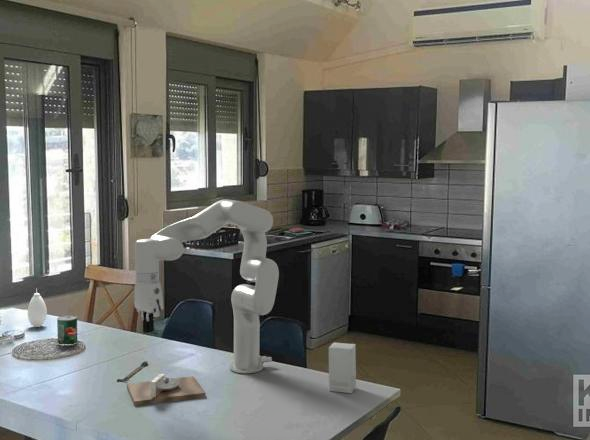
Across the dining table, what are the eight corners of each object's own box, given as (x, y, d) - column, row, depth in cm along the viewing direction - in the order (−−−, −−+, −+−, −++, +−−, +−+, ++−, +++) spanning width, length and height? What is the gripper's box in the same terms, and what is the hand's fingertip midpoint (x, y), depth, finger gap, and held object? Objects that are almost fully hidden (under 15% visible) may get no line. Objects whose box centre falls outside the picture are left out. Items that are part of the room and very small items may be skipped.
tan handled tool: (133, 386, 237) (133, 383, 237) (115, 383, 239) (116, 379, 239) (159, 366, 257) (159, 363, 257) (143, 363, 259) (143, 360, 259)
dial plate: (193, 380, 241) (193, 375, 241) (205, 396, 225) (205, 392, 225) (126, 388, 232) (126, 383, 232) (134, 405, 217) (134, 400, 216)
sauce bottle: (24, 328, 304) (23, 289, 302) (34, 324, 312) (33, 285, 310) (41, 329, 303) (40, 290, 301) (50, 325, 311) (49, 286, 309)
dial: (157, 380, 234) (157, 366, 234) (182, 382, 233) (182, 368, 232) (140, 395, 220) (140, 380, 220) (166, 398, 218) (166, 382, 218)
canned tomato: (74, 346, 279) (73, 320, 278) (54, 346, 279) (54, 319, 278) (80, 341, 287) (79, 315, 286) (61, 340, 287) (61, 315, 286)
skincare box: (356, 387, 235) (357, 343, 234) (351, 394, 229) (352, 349, 228) (332, 384, 238) (333, 341, 236) (327, 391, 232) (328, 346, 230)
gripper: (171, 278, 220) (172, 333, 223) (142, 272, 230) (144, 325, 232) (152, 282, 215) (153, 338, 217) (124, 275, 225) (125, 330, 227)
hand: (148, 331), depth 225 cm, fingers closed
